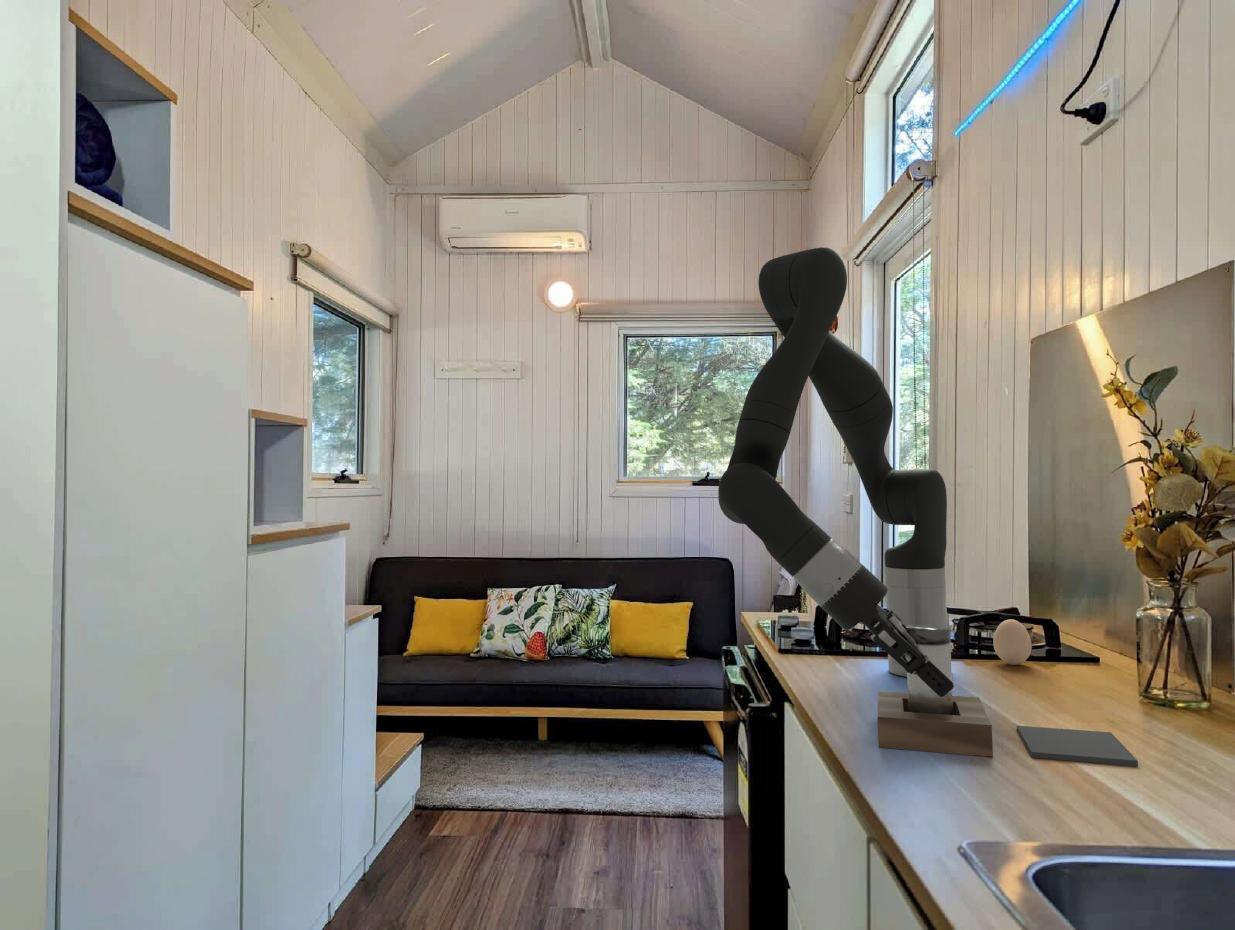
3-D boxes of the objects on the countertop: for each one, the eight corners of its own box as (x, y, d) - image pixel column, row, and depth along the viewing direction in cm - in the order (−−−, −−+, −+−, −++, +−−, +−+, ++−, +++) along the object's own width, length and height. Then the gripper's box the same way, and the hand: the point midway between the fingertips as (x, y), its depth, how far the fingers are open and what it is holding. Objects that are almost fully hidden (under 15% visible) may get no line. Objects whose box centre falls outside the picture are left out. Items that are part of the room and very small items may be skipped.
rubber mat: (1016, 730, 92) (1016, 725, 92) (1111, 737, 89) (1110, 732, 89) (1031, 757, 83) (1031, 751, 83) (1138, 766, 80) (1137, 760, 80)
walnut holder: (879, 718, 99) (878, 691, 99) (980, 725, 95) (978, 697, 95) (878, 747, 87) (877, 716, 87) (993, 757, 83) (991, 725, 83)
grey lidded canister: (923, 726, 95) (920, 622, 95) (962, 736, 90) (958, 627, 91) (900, 735, 91) (896, 627, 92) (939, 745, 87) (935, 633, 88)
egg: (1033, 669, 123) (1031, 622, 124) (994, 666, 126) (992, 621, 126) (1031, 662, 129) (1029, 617, 129) (993, 659, 131) (992, 616, 131)
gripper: (858, 568, 88) (976, 678, 83) (862, 558, 101) (963, 652, 97) (813, 612, 89) (926, 723, 85) (822, 596, 103) (920, 691, 98)
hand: (945, 685), depth 91 cm, fingers closed on grey lidded canister, 5 cm apart
